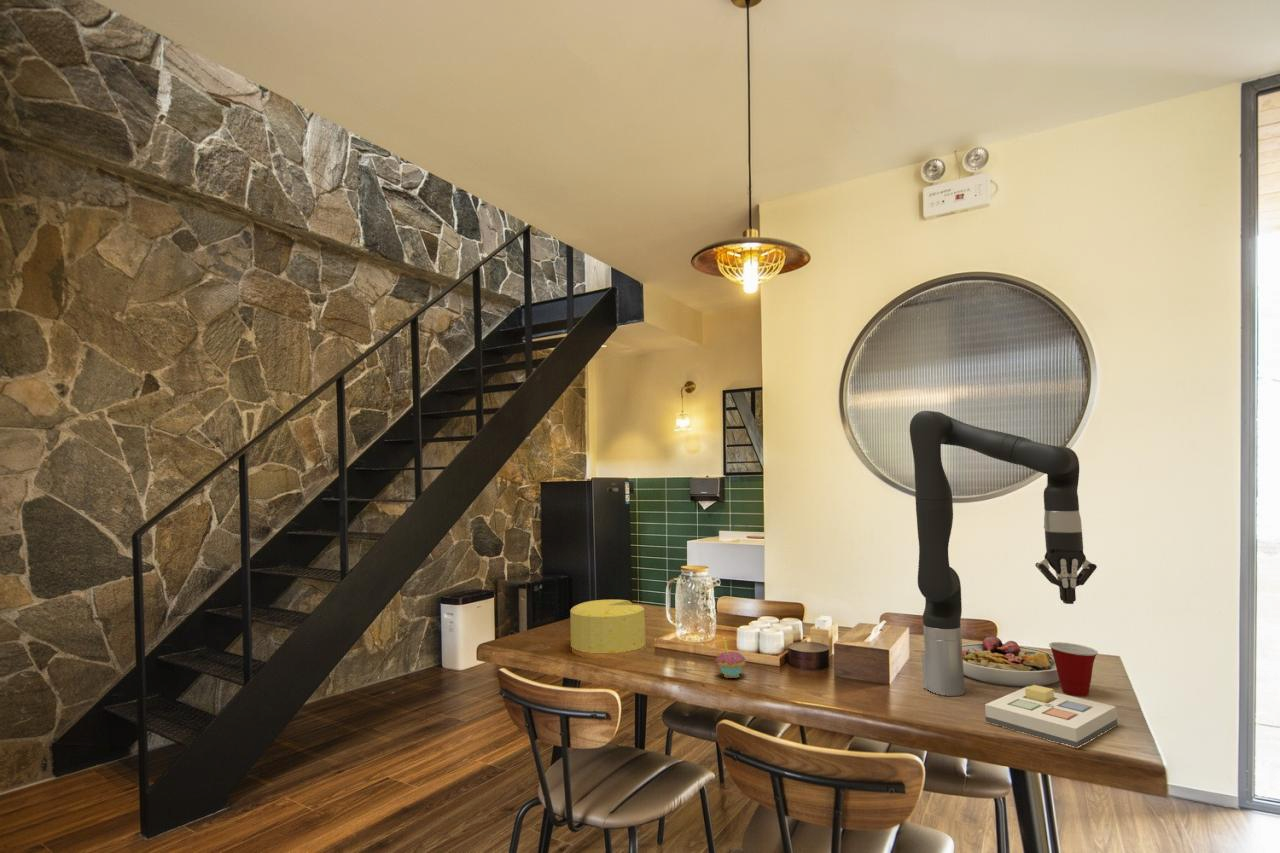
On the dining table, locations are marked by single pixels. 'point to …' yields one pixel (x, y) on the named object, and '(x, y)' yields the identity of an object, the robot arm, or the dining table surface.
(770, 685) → the dining table surface
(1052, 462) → the robot arm
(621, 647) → the cheese
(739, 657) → the cupcake
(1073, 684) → the plastic cup
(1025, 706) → the key sage
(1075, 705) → the key slate
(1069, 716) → the key terracotta
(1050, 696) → the key mustard
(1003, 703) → the keypad board
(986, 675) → the bowl
